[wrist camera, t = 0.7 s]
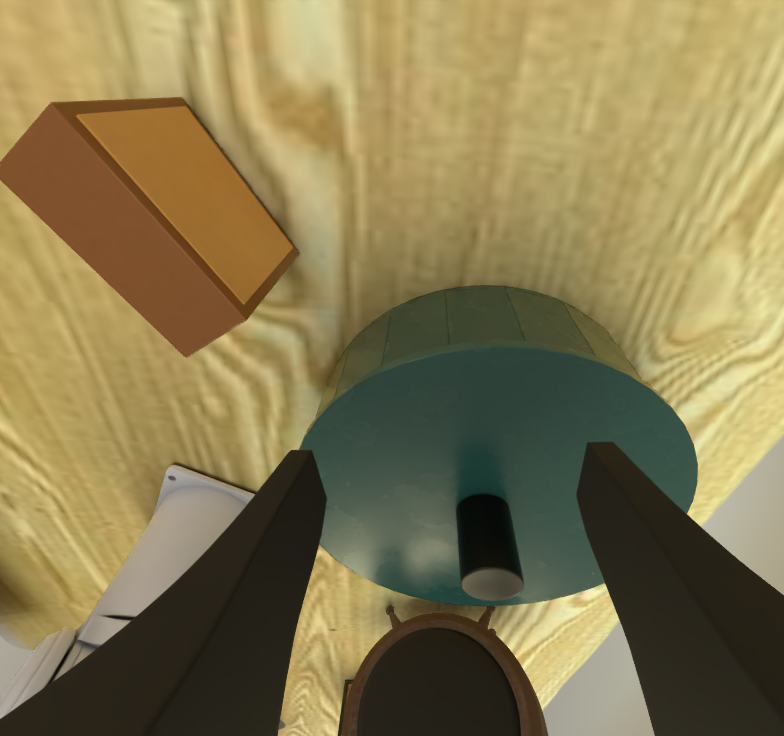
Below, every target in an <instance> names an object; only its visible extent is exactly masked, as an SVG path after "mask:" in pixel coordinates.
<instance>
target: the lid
mask: <svg viewBox="0 0 784 736" xmlns="http://www.w3.org/2000/svg"><path fill="white" fill-rule="evenodd" d="M587 442H614V443H615V444H616V445H617V446H618V447H619V448H620V449H621V450H622V451H623V452H624V453H625V454H626V455H627V456H628V457H629V458H630V459H631V460H632V461H633V462H634V463H635V464H636V465H637V466H638V467H639V468H640V469H641V470H642V471H643V472H644V473H645V474H646V475H647V476H648V477H649V478H650V479H651V480H652V481H653V482H654V483H655V484H656V485H657V486H658V487H659V488H660V489H661V490H662V491H663V492H664V493H665V494H666V495H667V496H668V497H669V498H670V499H671V500H672V501H673V502H674V503H675V504H677V505H678V506H679V507H680V508H681V509H682V510H683V511H684V512H685V513H686V514H687V513H688V510H689V508H690V506H691V504H692V502H693V499H694V494H695V490H696V486H697V473H698V463H697V458H696V453H695V449H694V444H693V442H692V440H691V438H690V435H689V433H688V431H687V429H686V427H685V425H684V424H683V422H682V421H681V420H680V418H679V417H678V415H677V414H676V413H675V411H674V410H673V409H672V407H671V406H670V405H669V404H668V402H667V401H666V400H665V399H664V398H663V397H662V396H661V395H660V394H659V393H657V392H656V391H655V390H654V389H653V388H652V387H651V386H650V385H649V384H648V383H646V382H644V381H643V380H641V379H640V378H638V377H637V376H635V375H634V374H632V373H630V372H629V371H627V370H626V369H624V368H622V367H620V366H617V365H615V364H613V363H611V362H609V361H606V360H604V359H602V358H600V357H597V356H594V355H591V354H587V353H584V352H581V351H578V350H574V349H571V348H568V347H562V346H556V345H550V344H545V343H539V342H529V341H511V340H492V341H473V342H464V343H458V344H452V345H446V346H440V347H435V348H431V349H428V350H424V351H421V352H417V353H414V354H410V355H407V356H404V357H401V358H399V359H397V360H394V361H392V362H389V363H387V364H385V365H382V366H380V367H378V368H376V369H374V370H373V371H371V372H369V373H367V374H366V375H364V376H362V377H360V378H359V379H357V380H355V381H354V382H352V383H351V384H350V385H349V386H347V387H346V388H345V389H343V390H342V391H341V392H339V393H338V394H337V395H336V396H334V397H333V398H332V400H331V401H330V402H329V403H328V404H327V405H326V406H325V407H324V408H323V409H322V410H321V411H320V412H319V413H318V415H317V416H316V418H315V419H314V421H313V422H312V424H311V425H310V427H309V428H308V430H307V432H306V434H305V436H304V439H303V441H302V443H301V445H300V448H299V450H312V451H313V455H314V458H315V461H316V464H317V467H318V471H319V474H320V477H321V480H322V484H323V487H324V490H325V493H326V497H327V502H326V509H325V517H324V523H323V529H322V535H321V539H320V543H319V544H320V545H321V546H322V547H323V548H324V549H325V550H326V551H327V552H328V553H329V554H330V555H331V556H332V557H333V558H335V559H336V560H337V561H339V562H340V563H341V564H342V565H344V566H345V567H347V568H348V569H350V570H351V571H353V572H355V573H356V574H358V575H360V576H361V577H363V578H365V579H367V580H370V581H372V582H374V583H376V584H378V585H380V586H383V587H385V588H388V589H391V590H393V591H396V592H399V593H403V594H406V595H409V596H412V597H417V598H421V599H426V600H430V601H436V602H442V603H449V604H458V605H470V606H505V605H518V604H528V603H535V602H541V601H547V600H552V599H556V598H560V597H565V596H569V595H573V594H576V593H579V592H582V591H585V590H588V589H591V588H594V587H596V586H598V585H601V584H603V583H605V581H604V579H603V576H602V574H601V571H600V569H599V566H598V564H597V561H596V558H595V556H594V553H593V551H592V548H591V546H590V543H589V540H588V538H587V535H586V532H585V528H584V524H583V521H582V517H581V513H580V509H579V505H578V501H577V497H576V494H577V489H578V484H579V479H580V474H581V470H582V465H583V460H584V455H585V450H586V446H587Z"/></svg>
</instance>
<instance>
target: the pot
mask: <svg viewBox="0 0 784 736" xmlns="http://www.w3.org/2000/svg"><path fill="white" fill-rule="evenodd" d="M492 340H511V341H529V342H539V343H545V344H550V345H556V346H562V347H568V348H571V349H574V350H578V351H581V352H584V353H587V354H591V355H594V356H597V357H600V358H602V359H604V360H606V361H609V362H611V363H613V364H615V365H617V366H620V367H622V368H624V369H626V370H627V371H629V372H630V373H632V374H634V375H635V376H637V377H638V378H640V376H639V375H638V374H637V372H636V371H635V369H634V368H633V367H632V365H631V364H630V363H629V361H628V360H627V358H626V357H625V356H624V354H623V353H622V352H621V350H620V349H619V347H618V346H617V345H616V343H615V342H614V340H613V339H612V338H611V336H610V335H609V334H608V332H607V331H606V330H605V329H604V328H602V327H601V326H599V325H598V324H596V323H595V322H594V321H593V320H592V319H591V318H589V317H588V316H586V315H585V314H583V313H582V312H580V311H579V310H577V309H576V308H574V307H572V306H570V305H568V304H566V303H564V302H562V301H560V300H558V299H555V298H553V297H550V296H547V295H543V294H540V293H537V292H534V291H530V290H524V289H518V288H513V287H504V286H470V287H458V288H453V289H448V290H443V291H438V292H434V293H431V294H428V295H425V296H421V297H418V298H415V299H413V300H410V301H408V302H406V303H404V304H402V305H400V306H398V307H395V308H393V309H392V310H390V311H388V312H387V313H385V314H384V315H382V316H381V317H379V318H377V319H376V320H374V321H373V322H372V323H371V324H370V325H369V326H367V327H366V328H365V329H364V330H363V331H361V332H360V333H359V334H358V335H357V337H356V338H355V339H354V340H353V341H352V342H351V343H350V344H349V346H348V347H347V348H346V350H345V351H344V353H343V354H342V356H341V357H340V359H339V361H338V362H337V365H336V367H335V369H334V370H333V372H332V373H331V375H330V377H329V379H328V382H327V385H326V388H325V391H324V394H323V396H322V399H321V402H320V405H319V408H318V411H317V414H316V416H317V415H318V413H319V412H320V411H321V410H322V409H323V408H324V407H325V406H326V405H327V404H328V403H329V402H330V401H331V400H332V398H333V397H334V396H336V395H337V394H338V393H339V392H341V391H342V390H343V389H345V388H346V387H347V386H349V385H350V384H351V383H352V382H354V381H355V380H357V379H359V378H360V377H362V376H364V375H366V374H367V373H369V372H371V371H373V370H374V369H376V368H378V367H380V366H382V365H385V364H387V363H389V362H392V361H394V360H397V359H399V358H401V357H404V356H407V355H410V354H414V353H417V352H421V351H424V350H428V349H431V348H435V347H440V346H446V345H452V344H458V343H464V342H473V341H492ZM640 379H641V378H640ZM641 380H642V379H641ZM315 418H316V417H315Z"/></svg>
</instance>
